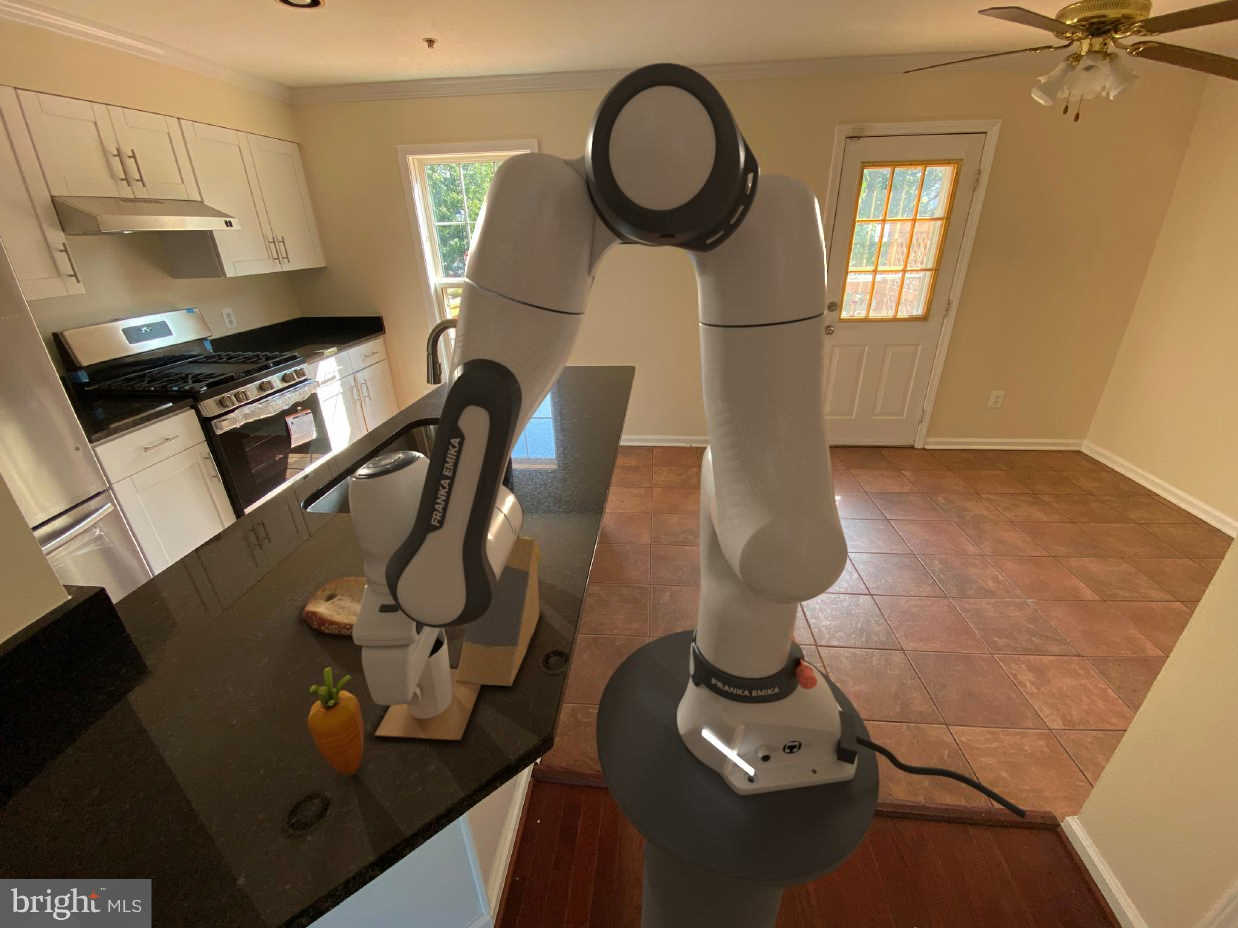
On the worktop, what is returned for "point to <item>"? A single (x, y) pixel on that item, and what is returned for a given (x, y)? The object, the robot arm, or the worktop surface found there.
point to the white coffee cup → (434, 682)
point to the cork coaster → (439, 726)
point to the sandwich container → (504, 622)
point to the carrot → (337, 725)
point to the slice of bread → (336, 606)
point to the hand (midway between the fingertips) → (427, 669)
